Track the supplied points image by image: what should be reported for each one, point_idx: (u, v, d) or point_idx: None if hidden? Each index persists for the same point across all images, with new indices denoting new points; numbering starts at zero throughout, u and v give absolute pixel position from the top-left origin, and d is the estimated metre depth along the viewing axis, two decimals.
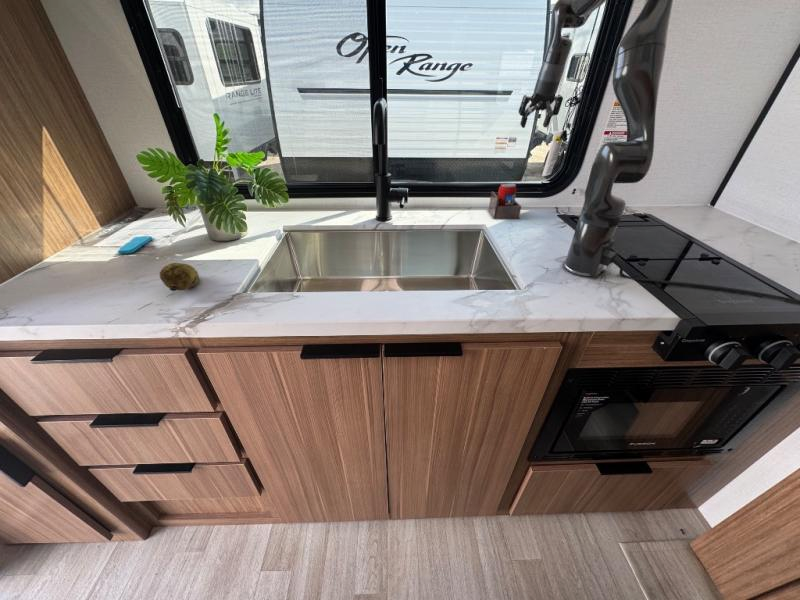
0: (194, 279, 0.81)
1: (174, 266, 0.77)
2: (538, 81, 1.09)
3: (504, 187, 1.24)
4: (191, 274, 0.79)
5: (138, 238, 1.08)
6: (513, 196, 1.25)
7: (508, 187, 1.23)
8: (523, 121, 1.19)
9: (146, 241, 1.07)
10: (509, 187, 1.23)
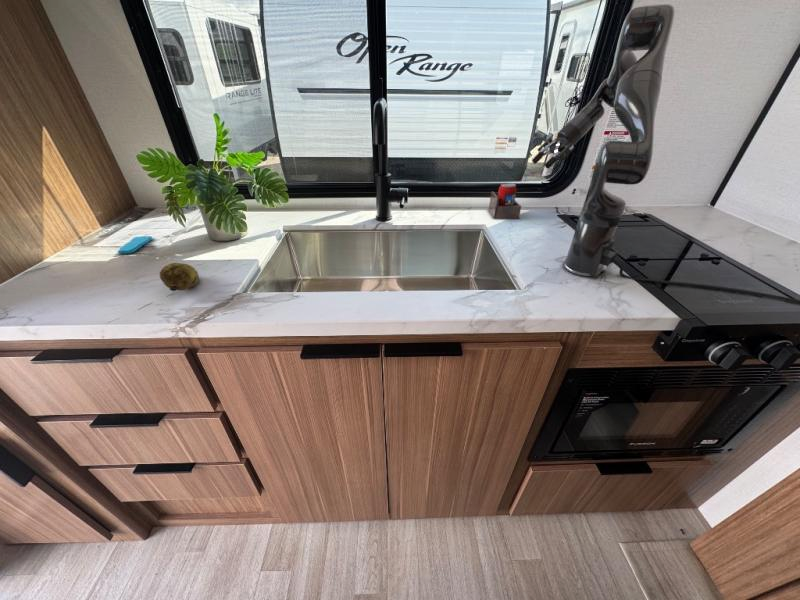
0: (194, 279, 0.81)
1: (174, 266, 0.77)
2: None
3: (504, 187, 1.24)
4: (191, 274, 0.79)
5: (138, 238, 1.08)
6: (513, 196, 1.25)
7: (508, 187, 1.23)
8: (536, 156, 1.26)
9: (146, 241, 1.07)
10: (509, 187, 1.23)
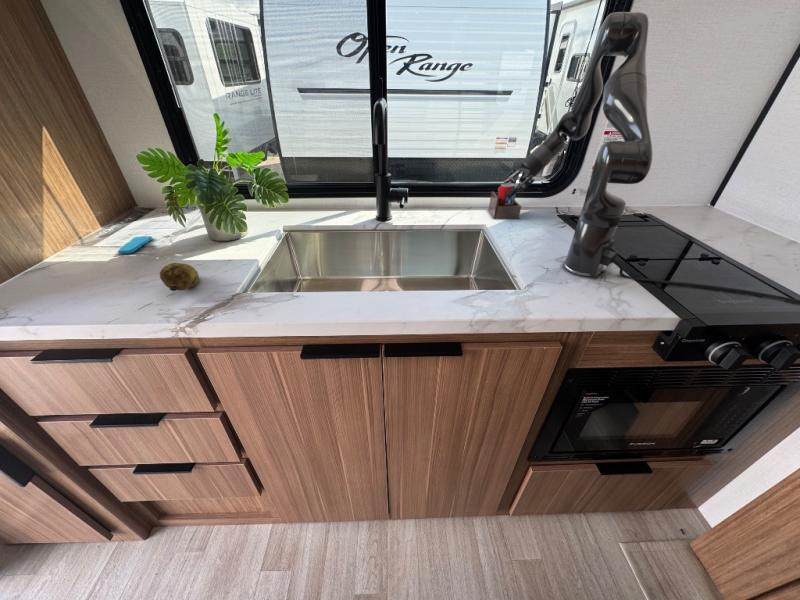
0: (194, 279, 0.81)
1: (174, 266, 0.77)
2: None
3: (504, 187, 1.24)
4: (191, 274, 0.79)
5: (138, 238, 1.08)
6: (513, 196, 1.25)
7: (508, 187, 1.23)
8: None
9: (146, 241, 1.07)
10: (509, 187, 1.23)
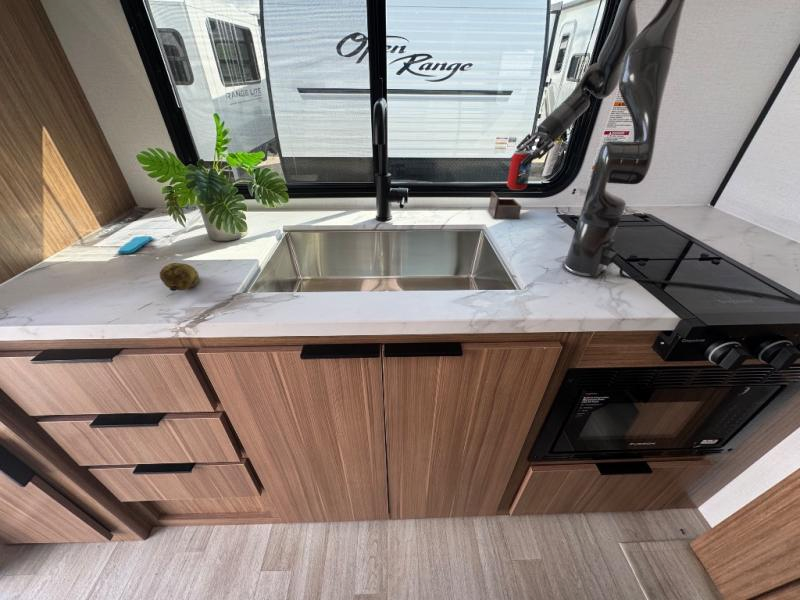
0: (194, 279, 0.81)
1: (174, 266, 0.77)
2: None
3: (518, 154, 1.07)
4: (191, 274, 0.79)
5: (138, 238, 1.08)
6: (529, 165, 1.08)
7: (523, 154, 1.06)
8: None
9: (146, 241, 1.07)
10: (524, 154, 1.06)
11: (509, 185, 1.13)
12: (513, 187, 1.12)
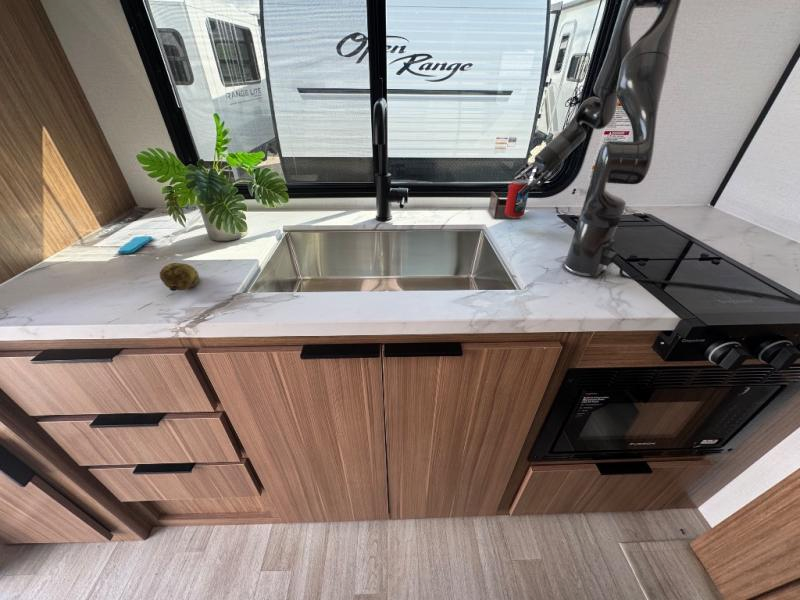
0: (194, 279, 0.81)
1: (174, 266, 0.77)
2: None
3: (515, 184, 1.08)
4: (191, 274, 0.79)
5: (138, 238, 1.08)
6: (526, 194, 1.10)
7: (520, 184, 1.08)
8: None
9: (146, 241, 1.07)
10: (521, 184, 1.08)
11: (507, 213, 1.15)
12: (511, 215, 1.14)
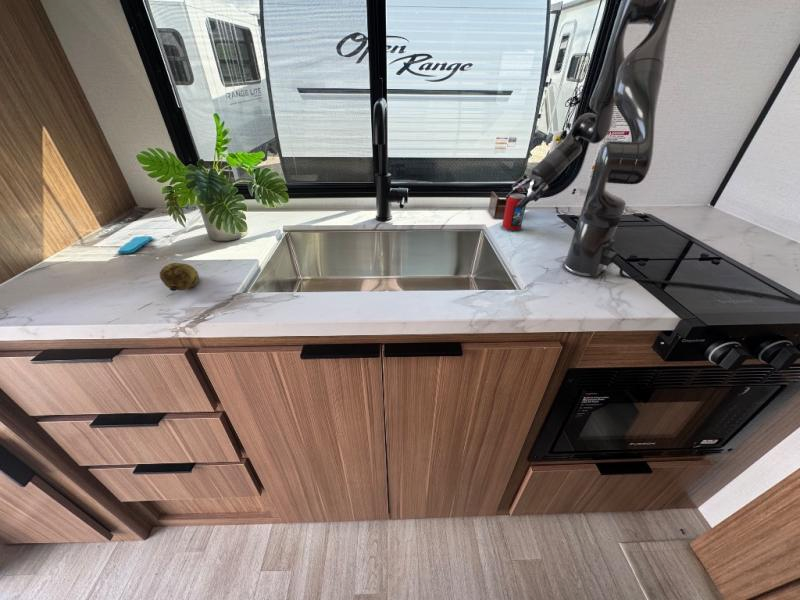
0: (194, 279, 0.81)
1: (174, 266, 0.77)
2: None
3: (513, 199, 1.11)
4: (191, 274, 0.79)
5: (138, 238, 1.08)
6: (523, 208, 1.12)
7: (517, 199, 1.10)
8: (509, 193, 1.17)
9: (146, 241, 1.07)
10: (518, 198, 1.10)
11: (504, 225, 1.17)
12: (508, 228, 1.16)
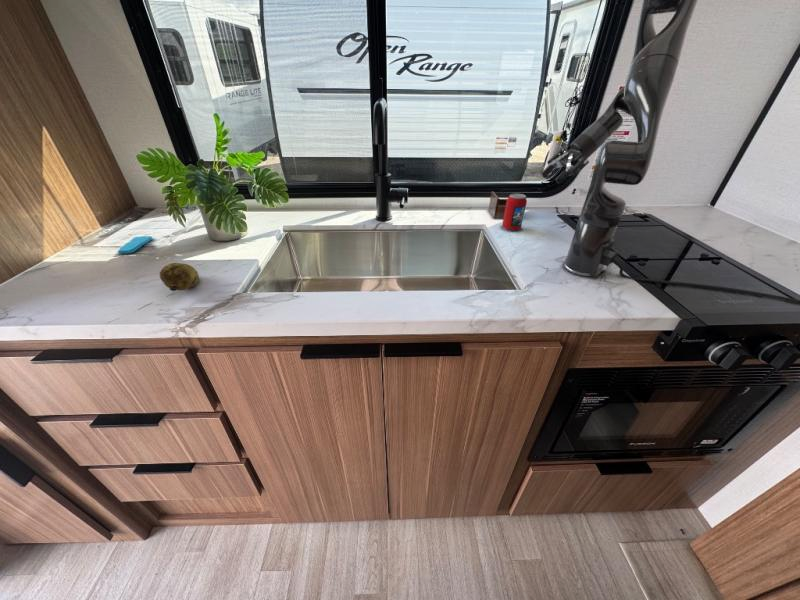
0: (194, 279, 0.81)
1: (174, 266, 0.77)
2: None
3: (513, 199, 1.11)
4: (191, 274, 0.79)
5: (138, 238, 1.08)
6: (523, 208, 1.12)
7: (517, 199, 1.10)
8: (545, 169, 1.15)
9: (146, 241, 1.07)
10: (518, 198, 1.10)
11: (504, 225, 1.17)
12: (508, 228, 1.16)
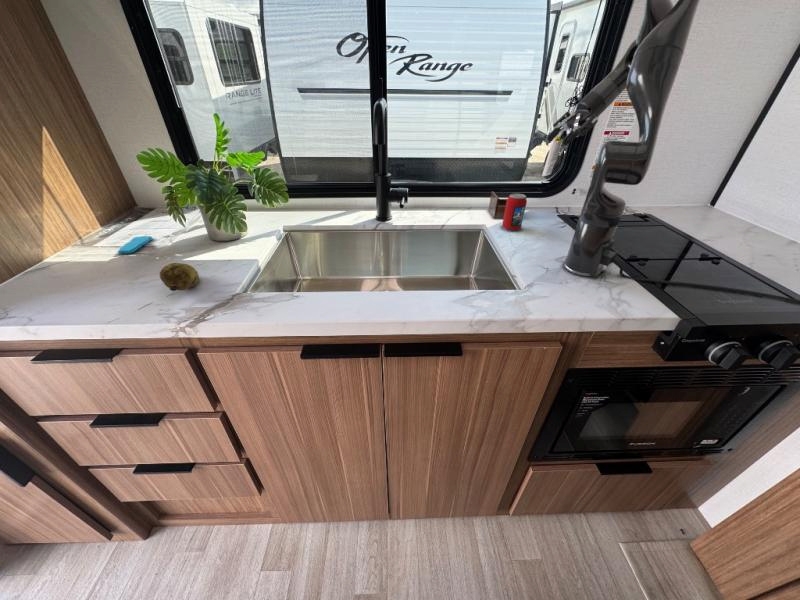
0: (194, 279, 0.81)
1: (174, 266, 0.77)
2: None
3: (513, 199, 1.11)
4: (191, 274, 0.79)
5: (138, 238, 1.08)
6: (523, 208, 1.12)
7: (517, 199, 1.11)
8: (551, 132, 1.09)
9: (146, 241, 1.07)
10: (518, 198, 1.10)
11: (504, 225, 1.17)
12: (508, 228, 1.16)
